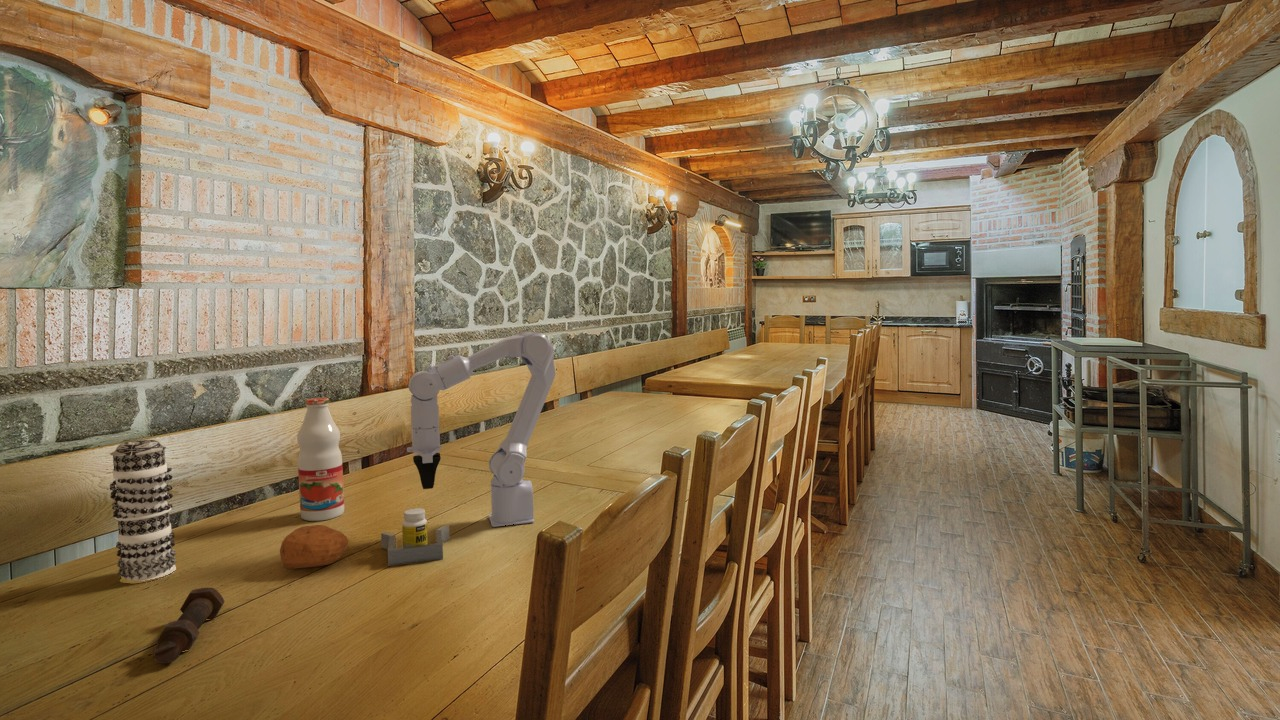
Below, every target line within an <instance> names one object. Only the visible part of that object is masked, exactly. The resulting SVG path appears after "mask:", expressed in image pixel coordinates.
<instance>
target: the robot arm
mask: <svg viewBox="0 0 1280 720" xmlns="http://www.w3.org/2000/svg"><path fill="white" fill-rule="evenodd" d="M554 351H555V349H554V347H553V345H552V343H551V342H550V339H549V338H548V337H547V336H546V335H545V334H543V333H541V332H532V331H523V332H521V333H519V334H514V335H510V336H508V337H506V338H503V339H501V340H499V341H496V342H494V343H493V344H491V345H490V346H488V347H485V348H483V349H480V350H479V351H477V352H475V353H473V354H471V355H469V356H467V357H465V356H462V355H459V354H458V355H455V356H454V355H453V354H450V355H448V356H447V357H446V358H447V359H446V360H444V361H442V362H439V363H437V364H436V365H433V366H432V365H428V366H426V370H427V371H426V370H420V371H417V372H415V373H413V375H412V376H411V377H410V378H409V381H408V384H407V386H408V387H407V388H408V390H409V392H410V393H411V397H410V404H411V406H410V421H411V422H410V423H411V426H410V427H411V442H412V443H411V446H409V447H406V452H407V453H414V454H416V455H414V456H413V457H412V458H413V459H412V460H413V463H414V465H415V466H416V468H417V471H418V474H419V477H420V478H419V479H420V482H421V487H422V489H423V490H430V489H433V488H434V486H435V480H436V473H437V470H438V466H439V464H440V461H441V460H442V459H441V453H440V452H439V451H441V450H442V445H441V435H440V414H439V413H440V412H439V410H440V409H439V404H438V394H439V392H440V391H446V390H448V389H450V388H453V387H454V386H456V385H458V384H460V383H461V384H462V383H463V382H465V381H468V380H469V379H470V378H471V375H472V373H473V372H474V371H475V370H477V369H479V368H482V367H485V366H486V365H489V364H492V363H493V362H496V361H499V360H501V359H504V358H506V357H510V358H511V357H512V358H521V359H522V360H523V361H524V362H525V365H526V367H527V368H528V371H529V372H530V374H531V377H530V378H529V381H528V383H527V386H526V388H525V391H524V393H523V396H522V397H521V400H520V403H519V406H518V408H517V410H516V413H515V415H514V418H513V420H512V422H511V425H510V427H509V430H508V432H507V435H506V437H505V438H504V439H503V440H502V442H501V443H500V444H499V446H498V449H497V450H496V451H495V452H494V453H493V454H491V457H490V458H489V462H488V466H489V470H490V471H491V473H492V474H493V476H492V479H491V480H490V497H491V498H490V501H491V502H490V503H491V513H490V514H489V513H488V515H487V516H488V519H489V523H490V525H491V527H492V528H495V527H496V528H497V527H503V526H504V527H505V525H506V526H512V525H513V524H514V525H522V524H529V523H535V519H534V514H535V513H534V511H535V510H534V489H533V484H532V481H531V480H523V478H524V476H525V463H526V461H527V454H528V453H527V450H528V448H527V447H528V444H529V442H530V440H531V437H532V434H533V432H534V430H535V427H536V425H537V422H538V420H539V417H540V415H541V412H542V410H543V407H544V406H545V402H546V400H547V398H548V395H549V392H550V390H551V388H552V385H553V382H554V381H555V378H556V367H555V361H554V360H555V358H554Z"/></svg>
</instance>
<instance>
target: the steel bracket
mask: <svg viewBox="0 0 1280 720" xmlns="http://www.w3.org/2000/svg"><path fill="white" fill-rule="evenodd" d="M380 539H381V541H380V542H381V548H382V549H386V550H387V564H388V566H387V567H393V566H400V565H407V564H408V565H409V564H416V563H423V562H424V563H425V562H431V561H439V560H444V550H443V547H444V545H443V543H445V542H447V541H449V540H450V525H449V524H448V525H447V524H444V525H442V526H441V527H438V528H437V529H435V543H427V544H426V545H418V546H410V547H403V546H401V547H396V546H397V544H396V543H397V541H396V539H397V538H396V534H394V533H390V532H387V531H384V532H381V533H380Z"/></svg>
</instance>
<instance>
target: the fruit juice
mask: <svg viewBox="0 0 1280 720" xmlns="http://www.w3.org/2000/svg"><path fill="white" fill-rule="evenodd" d="M329 406H330V398H328V397H311V398H307V399H305V407H306V413H305V416H304V419H303V422H302V424H301V427H300V429H299V430H298V432H297V437H296V440H297V444H298V447H299V453H298V455H297V456H298V457H297V472H298V487H299V488H298V489H299V490H298V491H299V493H298V494H299V508H300V509H299V510H300V516H301V519H302V520H305V521H307V522H320V521H326V520H327V521H328V520H331V519H335V518H337V517H340V516H341V515H343V514H344V511H345V493H344V489H345V487H344V472H343V469H344V468H343V455H342V450H341V449H340V447H339V445H340V442H341V441H340V440H341V431H340V428H339V426H337V424H336V423H335V421H334V418H333V416H332V414H331V412H330V409H329Z"/></svg>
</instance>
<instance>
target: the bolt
mask: <svg viewBox="0 0 1280 720" xmlns="http://www.w3.org/2000/svg"><path fill="white" fill-rule="evenodd" d="M224 604H225V599H224V597H223V596H222V594H221V593H220V592H219V591H218V590H217V589H216V588H214V587H200V588H195V589H191V590H190V592H189V593H188V595H187V596H186V599H185V600H184V602H183V604H182V605H181V607H180V609H179V610H180V612H181V613H182V614H181V615H180V616H179V617H178V619H177V620H174V621H171V622H169V621H168V623H167V624H166V625H165V627H164V628H163V629H162V632H161V633H160V635H159V637H158V638H157V641H156V644H157V645H155V648H154V649H153V652H152V655H153V659H154V660H155V662H157V663H159V664H171V663H173V662H174V661H176V660H177V659H178V658H179V657H180V655H181V654H183V653H182V651H185V650H189V649H190V650H191V649H192V647H193V645H194V644H195V641H196V640H197V638H198V637H199V635H200V631H199V630H200V628H201V627H202V625H203V624H204V623H205V620H206V619H212V618H215V619H216V617H217V615H218V614H219V612H220V611H221V609H222V607H223V605H224ZM190 650H189V651H190Z"/></svg>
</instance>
